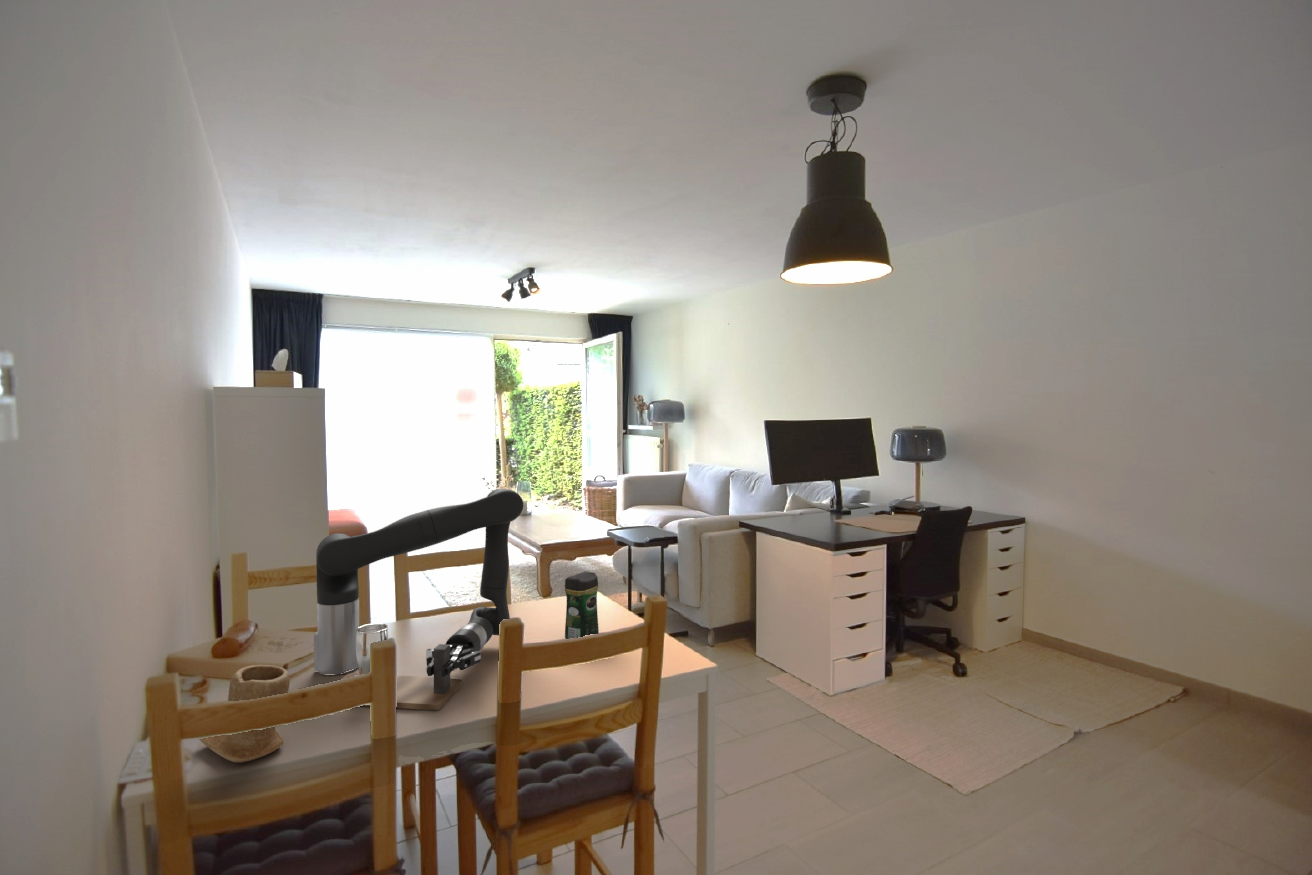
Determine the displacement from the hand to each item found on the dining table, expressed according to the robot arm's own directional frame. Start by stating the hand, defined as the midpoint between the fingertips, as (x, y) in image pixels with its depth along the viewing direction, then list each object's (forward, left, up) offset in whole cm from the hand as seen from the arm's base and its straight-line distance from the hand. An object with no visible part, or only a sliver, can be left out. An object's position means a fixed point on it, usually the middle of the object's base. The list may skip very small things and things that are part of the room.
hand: (436, 671), depth 137 cm
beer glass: (-17, +3, -7) cm, 18 cm away
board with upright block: (-12, +3, -7) cm, 14 cm away
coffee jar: (+23, +43, -7) cm, 49 cm away
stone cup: (-27, -21, -7) cm, 35 cm away
